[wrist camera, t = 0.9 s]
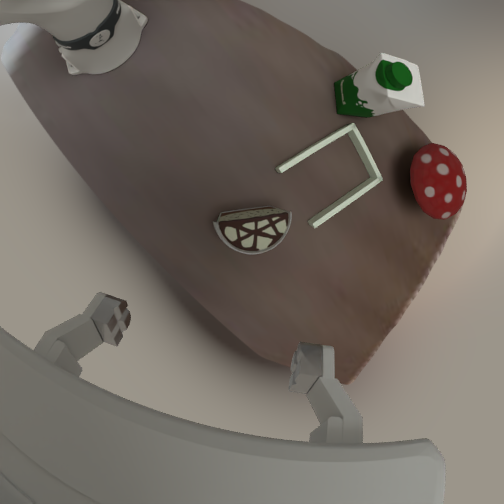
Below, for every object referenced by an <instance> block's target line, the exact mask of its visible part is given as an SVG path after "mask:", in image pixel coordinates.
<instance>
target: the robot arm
mask: <svg viewBox="0 0 504 504" xmlns="http://www.w3.org/2000/svg"><path fill="white" fill-rule="evenodd" d="M138 18H139V19H138ZM147 21H148V19H147V17H146V16H145V15H143V14H142V13H140V12H138V11H137V10H135V9H134V8H132V7H131V6H130V5H127V4H126V3H124V2H122V1H121V0H0V26H1V25H5V24H10V23H32V24H35V25H37V26H39V27H41V28H43V29H44V30H46V31H47V32H49V33H50V34H52V36H53V38H54V40H55V42H56V44H57V45H58V46H59V47H60V46H61V47H60V48H59V52H60V53H62V57H63V58H64V59H65V60H66V64H67V68H68V72H69V73H70V74H71V75H78V74H81V73H88V74H102V73H105V72H108V71H111V70H113V69H115V68H117V67H118V66H120V65H121V64H122V63H124V62H125V61H126V60H127V59H128V58H129V57H130V56H131V55H132V54H133V52H134V51H135V50H136V48H137V46H138V44H139V41H140V37H141V32H142V29H143V28H144V26H145V25H146V23H147ZM72 66H73V67H72ZM126 307H127V302H126V301H125V300H122V299H119V298H116V297H113V296H110V295H108V294H105V293H102V292H99V293H97V294H96V295H95V297H94V298H93V300H92V301H91V302H90V304H89V305H88V307H87V308H86V310H85V311H84V312H83V314H82V315H81V314H79V315H77V316H75V317H73V318H71V319H69V320H67V321H65V322H64V323H62V324H60V325H58V326H56V327H54V328H52V329H50V330H48V331H46V332H45V333H44V335H43V337H42V338H41V340H40V341H39V343H38V344H37V346H36V347H35V349H34V350H32V349H30V348H29V347H27V346H26V345H25V344H23V343H22V342H20V341H19V340H17V339H16V338H15V337H13V336H12V335H11V334H9V333H8V332H6V331H5V330H4V329H3V328H1V327H0V504H443V502H444V493H445V478H446V474H445V473H446V467H445V459H444V457H443V456H442V454H441V452H440V451H439V450H438V448H437V447H436V446H435V445H434V443H433V442H432V441H430V440H429V439H427V438H425V439H415V440H406V441H396V442H382V443H363V442H362V441H363V420H362V419H363V417H362V416H361V414H360V413H359V411H358V410H357V408H356V407H355V405H354V404H353V402H352V400H351V399H350V397H349V396H348V394H347V393H346V391H345V390H344V388H343V387H342V385H341V384H340V382H339V381H338V379H334V348H333V347H332V346H325V345H320V344H312V343H305V342H300V343H299V344H298V349H297V351H295V353H294V356H293V359H292V364H291V371H292V373H293V374H292V376H291V377H290V382H289V391H290V392H296V393H303V394H306V395H307V398H308V400H309V402H310V404H311V406H312V408H313V410H314V412H315V414H316V416H317V418H318V420H319V422H320V424H321V425H320V426H319V427H318V428H316V429H315V430H314V431H313V432H311V433H310V440H309V442H303V441H292V440H283V439H274V438H268V437H261V436H255V435H249V434H244V433H238V432H233V431H229V430H224V429H220V428H215V427H211V426H207V425H203V424H199V423H195V422H192V421H188V420H185V419H182V418H178V417H175V416H172V415H169V414H166V413H163V412H159V411H157V410H154V409H151V408H148V407H146V406H143V405H140V404H138V403H135V402H133V401H130V400H127V399H125V398H123V397H120V396H118V395H116V394H113V393H111V392H109V391H107V390H104V389H102V388H100V387H98V386H96V385H94V384H92V383H90V382H88V381H86V380H84V379H82V378H80V377H79V376H80V374H81V372H82V367H81V366H80V365H79V363H78V362H77V361H78V360H79V359H80V358H82V357H84V356H85V355H86V354H88V353H89V352H91V351H92V350H93V349H95V348H96V347H98V346H99V345H101V344H102V343H103V342H106V343H109V344H111V345H114V346H118V344H119V342H120V341H121V339H122V337H123V334H122V332H123V331H125V330H126V329H127V328H128V326H129V324H130V320H131V315H130V311H129V310H128V309H127V308H126Z"/></svg>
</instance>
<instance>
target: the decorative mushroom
mask: <svg viewBox="0 0 504 504" xmlns="http://www.w3.org/2000/svg"><path fill="white" fill-rule="evenodd" d="M410 176H411V181H410V182H411V186H412V189H413V192H414V196H415V199H416V201H417V202H418V204H419V205H420V207H421V209H422V210H423V212H425V213H426V214H428V215H429V216H431V217H432V218H434V219H444V220H445V219H447V218H449V217H451V216H452V215H454V214H456V213H457V212H458V210H459V209H460V208H461V206H462V205H463V203H464V199H465V195H466V192H467V189H466V187H467V186H466V176H465V172H464V169H463V166H462V164H461V162H460V161H459V159H458V158H457V156H456V155H455V154H454V153H453V152H452V151H451V150H449V149H448V148H447V147H445V146H442V145H438V144H434V143H431V144H428V145H426V146H423V147H422V148H421V149H420V150H419V151H418V152H417V153H416V154H415V155H414V157H413V161H412V164H411V168H410Z"/></svg>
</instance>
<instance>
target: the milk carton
mask: <svg viewBox="0 0 504 504" xmlns="http://www.w3.org/2000/svg"><path fill="white" fill-rule="evenodd" d="M334 86H335V96H336V107H337V114H342V115H351V116H359V117H366V118H367V117H373V116H377V115H381V114H385V113H390V112H394V111H398V110H403V109H409V108H415V107H423V106H424V99H423V92H422V85H421V79H420V74H419V68H418V66H417V65H416V64H413V63H410V62H407V61H406V60H404V59H400V58H397V57H394V56H391V55H387V54H384V53H380V54H379V56H378V57H377V58H376V59H375V60H374V61H373V62H371V63H370V64H368V65H366V66H365V67H362V68H361V69H359V70H357V71H355V72H354V73H352V74H350V75H348V76H346V77H344V78H342V79H340V80H339V81H337V82H335V83H334Z"/></svg>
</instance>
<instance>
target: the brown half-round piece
mask: <svg viewBox="0 0 504 504" xmlns="http://www.w3.org/2000/svg"><path fill="white" fill-rule="evenodd" d="M213 224H214V228H215V230H216V233H217V234H218V236H219V238H220V239H221V240H222V241H223V242H224V243H225V244H226V245H227V246H228V247H230V248H232V249H233V250H235V251H238V252H240V253H244V254H260V253H264V252H266V251H269V250H271V249H272V248H274V247H275V246H277V245H278V244H279V243H280V242H281V241H282V240H283V239H284V237H285V236H286V234H287V232H288V230H289V227H290V224H291V210H290V212H288V211H285V210H283V209H280V208H277V207H274V206H271V205H270V206H262V207H255V208H248V209H241V210H234V211H227V212H220V215H219V217H218V220H217V222H214V221H213Z"/></svg>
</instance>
